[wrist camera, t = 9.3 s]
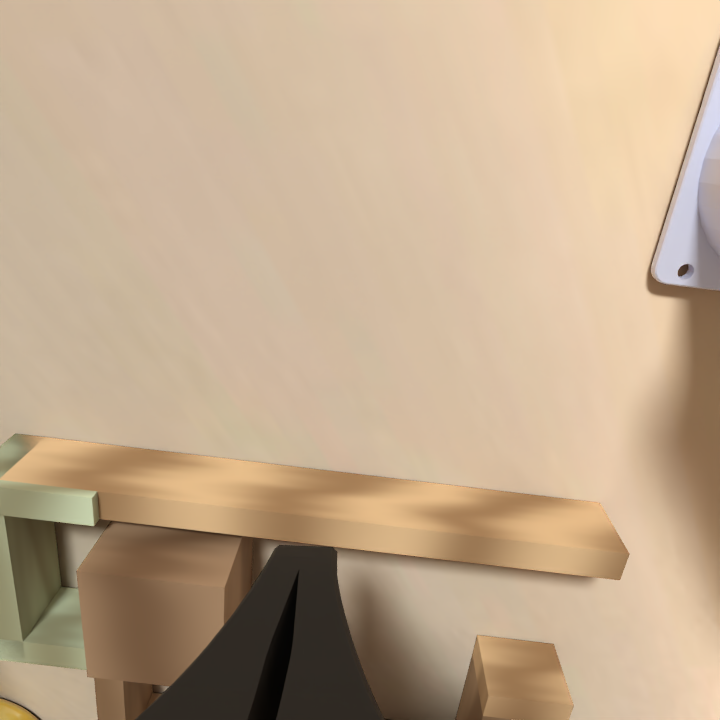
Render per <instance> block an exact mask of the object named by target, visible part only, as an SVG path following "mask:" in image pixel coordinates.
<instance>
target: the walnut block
mask: <svg viewBox="0 0 720 720" xmlns="http://www.w3.org/2000/svg"><path fill="white" fill-rule="evenodd" d="M253 538H254V537H248V536H239V535H231V534H222V533H214V532H205V531H197V530H188V529H180V528H171V527H163V526H154V525H146V524H137V523H129V522H120V521H111V522H110V524H109V525H108V526H107V528H106V529H105V531H104V532H103V534H102V535H101V536H100V538H99V539H98V541H97V542H96V544H95V545H94V547H93V548H92V549H91V551H90V552H89V554H88V555H87V557H86V558H85V559H84V561H83V562H82V564H81V565H80V567H79V568H78V570H77V571H76V572H77V581H78V591H79V601H80V610H81V620H82V630H83V639H84V649H85V659H86V668H87V677H92V678H101V679H110V680H119V681H128V682H137V683H146V684H154V685H163V686H171V685H172V684H173V683H174V682H175V681H176V680H177V679H178V678H179V676H180V675H181V674H182V673H183V672H184V671H185V670H186V669H187V668H188V667H189V666H190V665H191V664H192V663H193V661H194V660H195V659H196V658H197V657H198V656H199V655H200V654H201V652H202V651H203V650H204V649H205V648H206V647H207V645H208V644H209V643H210V642H211V641H212V639H213V638H214V637H215V636H216V634H217V633H218V632H219V631H220V629H221V628H222V627H223V626H224V624H225V623H226V622H227V621H228V619H229V618H230V617H231V615H232V614H233V613H234V611H235V610H236V609H237V607H238V606H239V604H240V603H241V602H242V600H243V599H244V597H245V596H246V595H247V593H248V592H249V590H250V589H251V583H252V561H253Z"/></svg>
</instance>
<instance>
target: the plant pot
mask: <svg viewBox="0 0 720 720" xmlns="http://www.w3.org/2000/svg"><path fill="white" fill-rule="evenodd" d="M0 720H39V719H37V718H36V717H35V716H34V715H33V714H31V713H30V712H29V711H27V710H26V709H24V708H23V707H21V706H19V705H17V704H14V703H12V702H10V701H7V700H4V699H1V698H0Z"/></svg>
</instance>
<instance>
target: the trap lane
mask: <svg viewBox="0 0 720 720" xmlns="http://www.w3.org/2000/svg"><path fill="white" fill-rule="evenodd" d="M99 519H103V520H112V521H120V522H129V523H137V524H146V525H154V526H163V527H171V528H180V529H188V530H197V531H205V532H214V533H222V534H231V535H239V536H248V537H256V538H265V539H273V540H282V541H290V542H299V543H307V544H316V545H324V546H333V547H342V548H350V549H359V550H367V551H376V552H384V553H393V554H401V555H410V556H418V557H427V558H435V559H444V560H452V561H461V562H469V563H478V564H486V565H495V566H503V567H512V568H520V569H529V570H537V571H546V572H554V573H563V574H571V575H580V576H588V577H597V578H605V579H614V580H620V579H621V576H622V573H623V570H624V568H625V565H626V562H627V559H628V557H629V552H628V551H627V549H626V547H625V545H624V544H623V542H622V540H621V539H620V537H619V535H618V533H617V532H616V530H615V528H614V526H613V525H612V523H611V521H610V519H609V518H608V516H607V514H606V512H605V511H604V509H603V507H602V505H601V504H600V503H597V502H588V501H580V500H571V499H563V498H554V497H546V496H538V495H529V494H521V493H512V492H504V491H495V490H487V489H478V488H470V487H462V486H453V485H445V484H436V483H428V482H419V481H411V480H402V479H394V478H386V477H377V476H369V475H360V474H352V473H343V472H335V471H326V470H318V469H310V468H301V467H293V466H284V465H276V464H267V463H259V462H250V461H242V460H234V459H225V458H217V457H208V456H200V455H191V454H183V453H174V452H166V451H158V450H149V449H141V448H132V447H124V446H115V445H107V444H98V443H90V442H82V441H73V440H65V439H56V438H48V437H39V436H31V435H22V434H14V435H13V436H12V437H11V438H9V439H8V440H7V441H6V442H5V443H3V444H2V445H1V446H0V660H4V661H12V662H21V663H30V664H38V665H47V666H55V667H64V668H73V669H81V670H87V668H86V659H85V649H84V639H83V630H82V620H81V610H80V601H79V591H78V589H77V588H68V587H61V578H60V569H59V559H58V550H57V541H56V532H55V523H54V522H63V523H71V524H80V525H88V526H95V524H96V523H97V522H98V520H99ZM94 681H95V692H96V703H97V715H98V720H135V719H136V718H137V717H138V716H139V715H140V714H141V713H142V712H144V711H145V710H146V709H147V708H148V707H149V706H150V705H151V704H152V703H153V702H154V701H155V700H156V699H157V698H158V697H159V696H160V695H161V694H160V693H153V687H152V684H146V683H137V682H128V681H119V680H110V679H101V678H94ZM573 707H574V705H573V702H572V699H571V696H570V693H569V689H568V686H567V683H566V680H565V677H564V674H563V671H562V668H561V665H560V662H559V659H558V656H557V653H556V650H555V647H554V644H548V643H540V642H531V641H523V640H514V639H506V638H497V637H488V636H480V635H477V639H476V643H475V647H474V650H473V654H472V658H471V662H470V666H469V670H468V674H467V678H466V681H465V685H464V689H463V693H462V697H461V701H460V705H459V709H458V713H457V716H456V720H511V719H513V720H569V717H570V715H571V712H572V709H573ZM384 720H385V719H384Z"/></svg>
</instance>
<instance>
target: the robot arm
mask: <svg viewBox="0 0 720 720" xmlns="http://www.w3.org/2000/svg"><path fill="white" fill-rule="evenodd" d="M684 264H687V265H688V271H687V272H686V274H685V275H683V276H680V277H679V276H678V270H679V268H680V267H681V266H682V265H684ZM651 274H652V277H653V278H654V279H655V280H657V281H658V282H660V283H663V284H667V285H676V286H684V287H692V288H701V289H709V290H717V291H720V47H719V50H718V53H717V56H716V59H715V63H714V66H713V69H712V72H711V76H710V79H709V82H708V85H707V88H706V92H705V95H704V98H703V101H702V105H701V108H700V111H699V114H698V117H697V121H696V124H695V127H694V130H693V133H692V137H691V140H690V143H689V146H688V150H687V153H686V156H685V159H684V162H683V166H682V169H681V172H680V175H679V179H678V182H677V185H676V188H675V191H674V195H673V198H672V201H671V204H670V208H669V211H668V214H667V217H666V220H665V224H664V227H663V230H662V233H661V236H660V240H659V243H658V246H657V249H656V253H655V256H654V259H653V262H652V265H651ZM135 720H384V718H383V716H382V714H381V712H380V710H379V707H378V705H377V703H376V701H375V699H374V696H373V694H372V692H371V689H370V687H369V685H368V682H367V680H366V677H365V675H364V672H363V670H362V667H361V664H360V662H359V659H358V656H357V653H356V650H355V647H354V644H353V641H352V638H351V635H350V632H349V628H348V625H347V621H346V617H345V613H344V609H343V605H342V601H341V596H340V591H339V585H338V579H337V551H336V550H335V549H334V548H333V547H316V546H290V545H279V546H278V547H277V548H275V549H274V551H273V553H272V555H271V557H270V559H269V560H268V562H267V564H266V565H265V567H264V569H263V570H262V572H261V574H260V575H259V577H258V578H257V580H256V581H255V583H254V584H253V586H252V587H251V589H250V590H249V592H248V593H247V595H246V596H245V597H244V599H243V600H242V602H241V603H240V604H239V606H238V607H237V609H236V610H235V611H234V613H233V614H232V615H231V617H230V618H229V619H228V621H227V622H226V623H225V624H224V626H223V627H222V628H221V629H220V631H219V632H218V633H217V634H216V636H215V637H214V638H213V639H212V641H211V642H210V643H209V644H208V645H207V647H206V648H205V649H204V650H203V651H202V652H201V654H200V655H199V656H198V657H197V658H196V659H195V660H194V661H193V663H192V664H191V665H190V666H189V667H188V668H187V669H186V670H185V671H184V672H183V673H182V674H181V675H180V676H179V678H178V679H177V680H176V681H175V682H174V683H173V684H172V685H171V686H170V687H169V688H168V689H167V690H166V691H164V692H163V693H162V694H161V695H160V696H159V697H158V698H157V699H156V700H155V701H154V702H153V703H152V704H151V705H150V706H149V707H148V708H147V709H146V710H145V711H144V712H142V713H141V714H140V715H139V716H138V717H137V718H136V719H135Z"/></svg>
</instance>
